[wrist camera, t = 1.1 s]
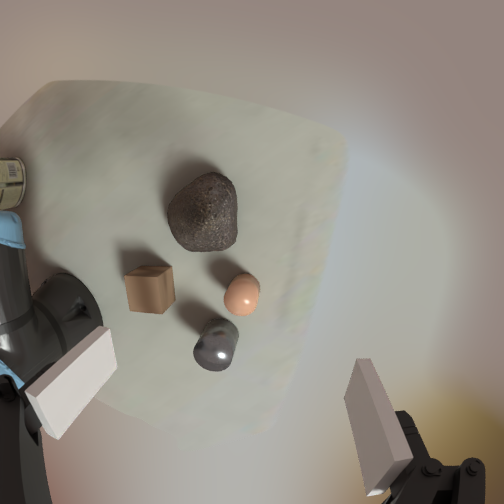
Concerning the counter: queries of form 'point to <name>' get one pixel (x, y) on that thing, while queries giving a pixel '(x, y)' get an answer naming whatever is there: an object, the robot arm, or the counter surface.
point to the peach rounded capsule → (242, 295)
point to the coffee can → (11, 182)
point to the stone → (205, 214)
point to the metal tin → (216, 345)
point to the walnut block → (150, 289)
